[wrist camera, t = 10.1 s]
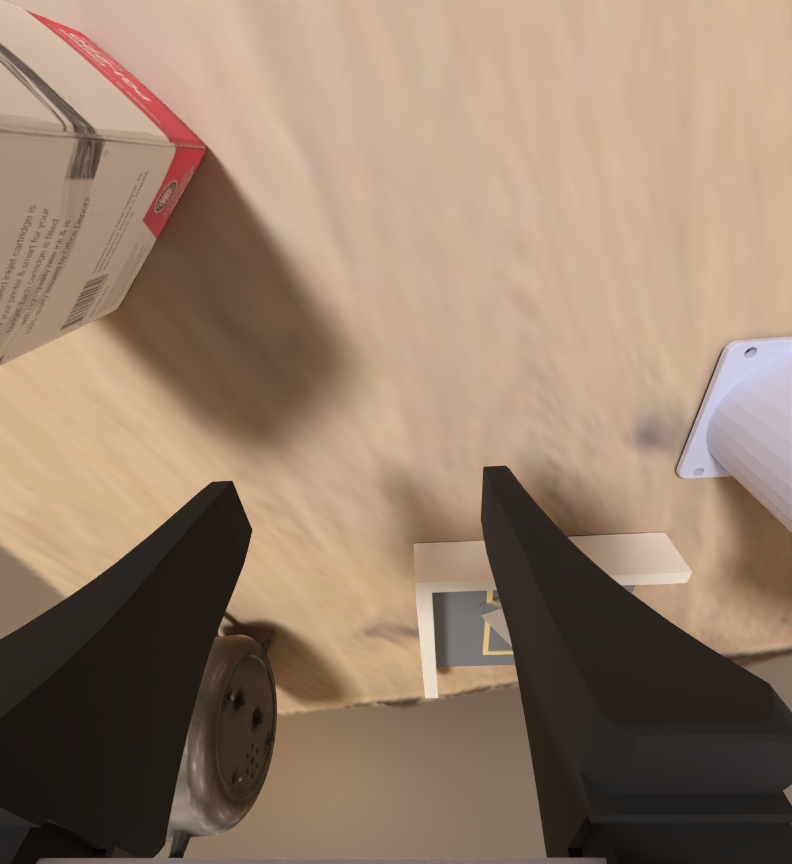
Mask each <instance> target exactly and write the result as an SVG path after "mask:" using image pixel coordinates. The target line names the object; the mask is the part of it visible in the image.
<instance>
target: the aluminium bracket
mask: <svg viewBox="0 0 792 864" xmlns="http://www.w3.org/2000/svg"><path fill="white" fill-rule="evenodd" d="M479 609H480V615H481V617H482V618H483V619H484V620H485V621H486V622H487V623H488V624H489V625H490V626H491V627H492V628H493V629H494V630H495V631H496V632H497V633H498V634H499V635H500V636H501V637H502V638H503V639H504V640H505V641H506V642H507V643H508V644H509V645H510V646H511V647H512V644H511V640H510V636H509V631H508V627H507V624H506V620H505V617H504V613H503V610H502V606H501V603H500V599H499V598H498V599H495V600H492V601H490V602H487V603H484V604H482V605H479Z"/></svg>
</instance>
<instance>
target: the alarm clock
mask: <svg viewBox="0 0 792 864" xmlns="http://www.w3.org/2000/svg"><path fill="white" fill-rule="evenodd" d="M275 636H276V633H275V632H272V633H271V634H270V635H269V637H268V638H267V640H266V641H265V642H264V643H263V644H262V645H260V644H259V643H257V642H256V641H255V640H254V639H252V638H251V637H249V636H246V635H241V634H236V635H229V636H219V635H218V631H217V634H216V636H215V639H214V642H213V645H212V647H211V650H210V653H209V656H208V660H207V663H206V667H205V670H204V674H203V677H202V681H201V684H200V688H199V691H198V695H197V699H196V703H195V707H194V711H193V715H192V718H191V722H190V726H189V730H188V734H187V739H186V743H185V748H184V752H183V756H182V761H181V765H180V770H179V774H178V779H177V784H176V789H175V794H174V799H173V804H172V809H171V814H170V819H169V825H168V830H167V836H166V842H167V841H172V840H173V841H172V847H171V852H170V856H169V857H168V858H183V855H184V852H185V850H186V847H187V845H188V842H189V839H190V838H191V837H199V836H207V835H214V834H220V833H223V832H226V831H228V830H230V829H231V828H233V827H234V826H236V825H237V824H238V823H239V822H240V821H241V820H242V819H243V818H244V817H245V815H246V814H247V813H248V812H249V810H250V809H251V807H252V805H253V804H254V802H255V801H256V799H257V797H258V795H259V793H260V791H261V788H262V786H263V784H264V781H265V778H266V776H267V772H268V769H269V765H270V762H271V758H272V753H273V747H274V741H275V733H276V722H277V698H276V688H275V681H274V676H273V672H272V668H271V665H270V662H269V660H268V657H267V650H268V649H269V647H270V645H271V643H272V641H273V640H274V638H275Z"/></svg>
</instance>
